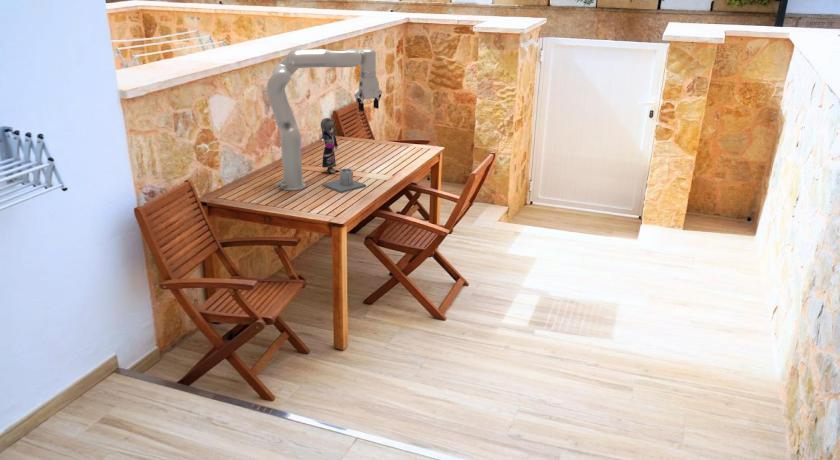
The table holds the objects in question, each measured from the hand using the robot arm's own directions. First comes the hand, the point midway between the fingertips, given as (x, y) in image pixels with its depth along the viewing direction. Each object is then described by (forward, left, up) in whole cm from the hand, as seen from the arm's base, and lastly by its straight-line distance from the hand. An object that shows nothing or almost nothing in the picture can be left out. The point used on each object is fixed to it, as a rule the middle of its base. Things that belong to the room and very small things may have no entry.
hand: (368, 109), depth 339 cm
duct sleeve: (-12, +4, -37) cm, 39 cm away
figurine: (-7, +27, -38) cm, 48 cm away
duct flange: (-14, +4, -38) cm, 41 cm away
